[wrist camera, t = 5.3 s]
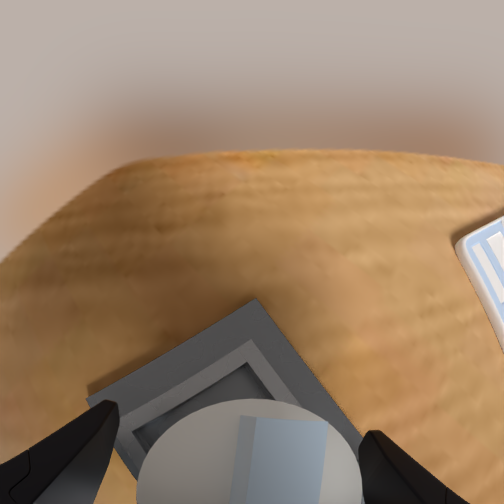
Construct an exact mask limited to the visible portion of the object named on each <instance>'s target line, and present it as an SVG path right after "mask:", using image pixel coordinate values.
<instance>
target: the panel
mask: <svg viewBox="0 0 504 504" xmlns="http://www.w3.org/2000/svg"><path fill="white" fill-rule="evenodd" d="M104 399H108V400H111V401H115V402H117V404H118V408H119V416H120V425H119V429H118V432H117V436H116V439H115V443H114V448H115V450H116V451H117V453H118V454H119V456H120V457H121V459H122V460H123V462H124V463H125V465H126V466H127V468H128V469H129V471H130V472H131V473H132V475H133V476H134V478H135V479H136V480H137V482H138V477H139V472H140V470H141V467H142V464H143V461H144V460H145V458H146V456H147V454H148V452H149V451H150V449H151V448H152V446H153V445H154V444H155V442H156V441H157V440H158V438H160V437H161V436H162V435H163V434H164V433H165V432H166V431H167V430H168V429H169V428H170V427H171V426H173V425H174V424H175V423H177V422H178V421H179V420H181V419H183V418H184V417H186V416H188V415H190V414H191V413H193V412H195V411H198V410H200V409H202V408H205V407H207V406H211V405H214V404H218V403H221V402H226V401H232V400H239V399H268V400H275V401H281V402H285V403H289V404H292V405H296V406H298V407H301V408H303V409H306V410H308V411H310V412H312V413H314V414H315V415H317V416H319V417H321V418H322V419H324V420H325V421H328V423H329V424H330V425H332V426H333V427H334V428H335V429H336V430H337V431H338V432H339V433H340V434H341V435H342V437H343V438H344V439H345V440H346V442H347V443H348V444H349V446H350V448H351V450H352V451H353V453H354V455H355V457H356V460H357V463H358V465H359V456H358V448H359V445H360V443H361V441H362V440H363V437H362V436H361V435H360V434H359V432H358V431H357V430H356V429H355V427H354V426H353V425H352V424H351V422H350V421H349V420H348V418H347V417H346V416H345V415H344V413H343V412H342V411H341V409H340V408H339V407H338V406H337V404H336V403H335V402H334V400H333V399H332V398H331V397H330V395H329V394H328V393H327V391H326V390H325V389H324V388H323V386H322V385H321V384H320V382H319V381H318V380H317V378H316V377H315V376H314V375H313V373H312V372H311V371H310V369H309V368H308V367H307V365H306V364H305V363H304V361H303V360H302V359H301V357H300V356H299V355H298V353H297V352H296V351H295V350H294V348H293V347H292V346H291V344H290V343H289V342H288V340H287V339H286V338H285V336H284V335H283V334H282V332H281V331H280V330H279V328H278V327H277V326H276V324H275V323H274V322H273V320H272V319H271V318H270V316H269V315H268V314H267V312H266V311H265V309H264V308H263V307H262V305H261V304H260V303H259V301H258V300H257V299H256V298H255V299H254V300H252V301H250V302H249V303H247V304H246V305H244V306H242V307H241V308H239V309H238V310H236V311H234V312H233V313H231V314H230V315H228V316H226V317H225V318H223V319H221V320H220V321H218V322H217V323H215V324H213V325H212V326H210V327H208V328H207V329H205V330H203V331H202V332H200V333H199V334H197V335H195V336H194V337H192V338H190V339H189V340H187V341H185V342H184V343H182V344H180V345H179V346H177V347H175V348H173V349H172V350H170V351H168V352H167V353H165V354H163V355H162V356H160V357H158V358H156V359H155V360H153V361H151V362H150V363H148V364H146V365H144V366H143V367H141V368H139V369H137V370H136V371H134V372H132V373H131V374H129V375H127V376H125V377H123V378H122V379H120V380H118V381H116V382H115V383H113V384H111V385H109V386H107V387H106V388H104V389H102V390H100V391H98V392H97V393H95V394H93V395H91V396H89V397H88V398H86V400H87V402H88V404H89V406H90V408H92V407H94V406H95V405H97V404H98V403H100V402H101V401H102V400H104ZM359 469H360V466H359ZM361 504H365V502H364V498H363V493H362V499H361Z"/></svg>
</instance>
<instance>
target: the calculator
mask: <svg viewBox="0 0 504 504" xmlns="http://www.w3.org/2000/svg"><path fill="white" fill-rule="evenodd" d="M455 252H456V254H457V257H458V259H459V261H460V263H461V265H462V267H463V268H464V270H465V272H466V274H467V276H468V278H469V280H470V282H471V283H472V285H473V287H474V289H475V291H476V293H477V295H478V297H479V299H480V301H481V303H482V305H483V307H484V310H485V312H486V314H487V316H488V318H489V320H490V323H491V325H492V327H493V329H494V332H495V334H496V336H497V339H498V341H499V343H500V346H501V348H502V351H503V353H504V215H503V216H502V217H500V218H498V219H496V220H494V221H492V222H490V223H488V224H486V225H484V226H482V227H480V228H478V229H476V230H475V231H473V232H471V233H469V234H467V235H465V236H464V237H462V238H461V239H460V240H459V241H458V242H457V243H456V244H455Z"/></svg>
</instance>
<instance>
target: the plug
mask: <svg viewBox="0 0 504 504" xmlns="http://www.w3.org/2000/svg"><path fill="white" fill-rule="evenodd" d="M361 499H362V478H361V473H360V469H359V465H358V463H357V460H356V457H355V455H354V453H353V451H352V450H351V448H350V446H349V444H348V443H347V442H346V440H345V439H344V438H343V437H342V435H341V434H340V433H339V432H338V431H337V430H336V429H335V428H334V427H333V426H332V425H330V424H329V423H328V421H325V420H324V419H322V418H321V417H319V416H317V415H315V414H314V413H312V412H310V411H308V410H306V409H303V408H301V407H298V406H296V405H292V404H289V403H285V402H281V401H275V400H268V399H239V400H232V401H226V402H221V403H218V404H214V405H211V406H207V407H205V408H202V409H200V410H198V411H195V412H193V413H191V414H190V415H188V416H186V417H184V418H183V419H181V420H179V421H178V422H177V423H175V424H174V425H173V426H171V427H170V428H169V429H168V430H167V431H166V432H165V433H164V434H163V435H162V436H161V437H160V438H158V440H157V441H156V442H155V444H154V445H153V446H152V448H151V449H150V451H149V452H148V454H147V456H146V458H145V460H144V461H143V464H142V467H141V470H140V472H139V477H138V482H137V494H136V500H137V504H361Z"/></svg>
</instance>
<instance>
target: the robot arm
mask: <svg viewBox="0 0 504 504" xmlns="http://www.w3.org/2000/svg"><path fill="white" fill-rule="evenodd" d="M119 425H120V416H119V408H118V404H117V402H115V401H111V400H108V399H104V400H102V401H101V402H100V403H98V404H97V405H95V406H94V407H92V408H91V409H89V410H88V411H86V412H85V413H83V414H82V415H80V416H79V417H77V418H75V419H74V420H72V421H71V422H69V423H68V424H66V425H65V426H63V427H62V428H60V429H59V430H57V431H56V432H54V433H52V434H51V435H49V436H48V437H46V438H45V439H43V440H42V441H40V442H38V443H37V444H35V445H34V446H32V447H30V448H29V450H26V451H24V452H22V453H21V454H19V455H17V456H16V457H14V458H12V459H10V460H9V461H7V462H5V463H3V464H0V504H93V503H94V500H95V497H96V495H97V492H98V490H99V487H100V485H101V482H102V480H103V477H104V475H105V473H106V470H107V467H108V465H109V462H110V458H111V454H112V451H113V447H114V443H115V439H116V436H117V432H118V429H119ZM358 456H359V466H360V473H361V478H362V493H363V498H364V502H365V504H470V503H468V502H467V501H465V500H464V499H462V498H461V497H460V496H458V495H457V494H456V493H454V492H453V491H452V490H451V489H449V488H448V487H446V485H444V484H443V483H442V482H441V481H439V480H438V479H437V478H436V477H435V476H433V475H432V474H431V473H430V472H428V471H427V470H426V469H425V468H424V467H422V466H421V465H420V464H419V463H418V462H417V461H415V460H414V459H413V458H412V457H411V456H409V455H408V454H407V453H406V452H405V451H404V450H402V449H401V448H400V447H399V446H398V445H397V444H395V443H394V442H393V441H392V440H391V439H390V438H389V437H387V436H386V435H385V434H384V433H383V432H382V431H380V430H370V431H368V432H367V433H366V435H365V436H364V438H363V440H362V441H361V443H360V445H359V448H358Z"/></svg>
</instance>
